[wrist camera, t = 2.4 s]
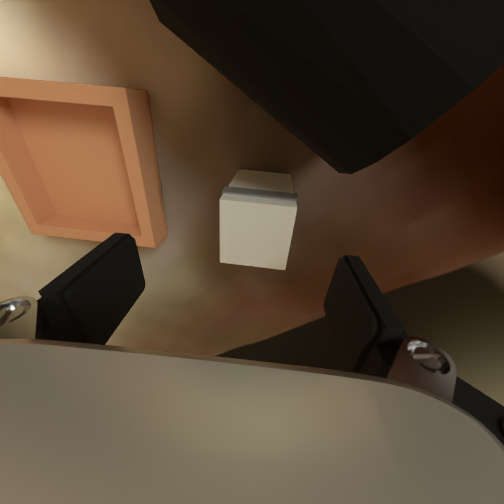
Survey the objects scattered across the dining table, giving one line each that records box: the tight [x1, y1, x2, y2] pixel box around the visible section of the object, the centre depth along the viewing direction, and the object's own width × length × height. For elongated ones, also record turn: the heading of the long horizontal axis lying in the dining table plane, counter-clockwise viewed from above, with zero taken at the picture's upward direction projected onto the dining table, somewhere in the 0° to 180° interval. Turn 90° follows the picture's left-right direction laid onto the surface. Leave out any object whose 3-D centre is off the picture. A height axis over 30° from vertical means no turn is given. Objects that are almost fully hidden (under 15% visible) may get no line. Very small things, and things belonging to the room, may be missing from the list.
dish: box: [0, 77, 168, 248], centre depth 17 cm, size 11×11×3 cm
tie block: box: [220, 169, 298, 270], centre depth 15 cm, size 4×4×7 cm
